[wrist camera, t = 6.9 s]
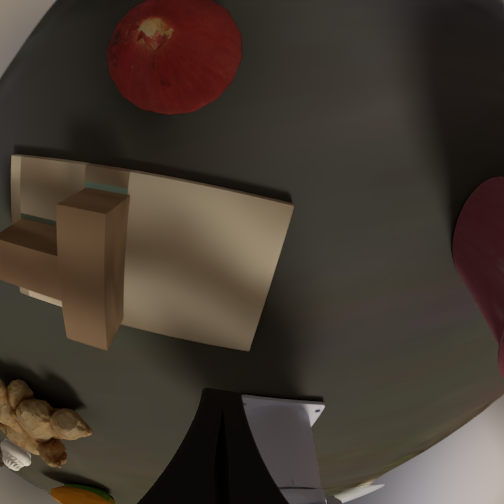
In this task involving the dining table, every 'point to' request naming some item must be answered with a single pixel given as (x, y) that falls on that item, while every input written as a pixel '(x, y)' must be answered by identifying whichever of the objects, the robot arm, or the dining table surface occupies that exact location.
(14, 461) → the white jar
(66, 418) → the ginger root
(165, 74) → the onion
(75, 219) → the t block
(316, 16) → the dining table surface
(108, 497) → the corn
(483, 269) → the plant pot
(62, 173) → the board
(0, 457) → the dark brown lumpy piece
